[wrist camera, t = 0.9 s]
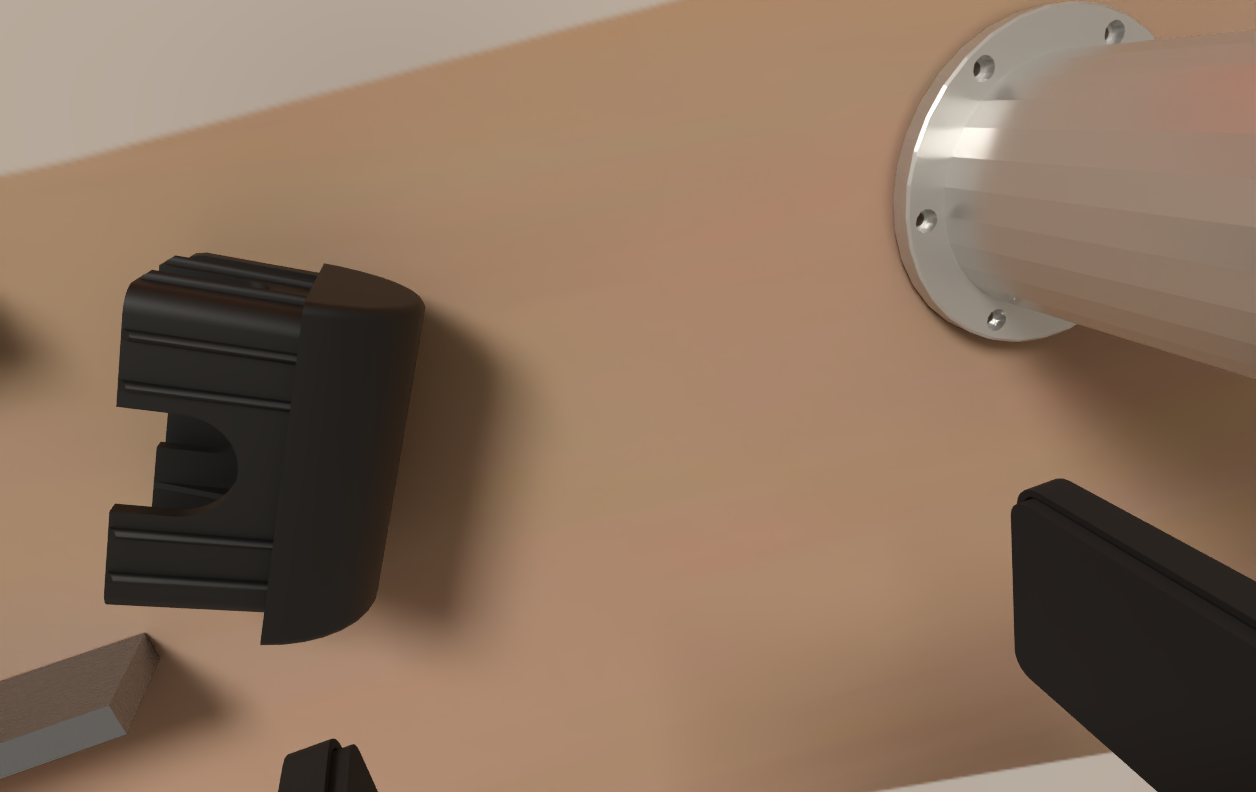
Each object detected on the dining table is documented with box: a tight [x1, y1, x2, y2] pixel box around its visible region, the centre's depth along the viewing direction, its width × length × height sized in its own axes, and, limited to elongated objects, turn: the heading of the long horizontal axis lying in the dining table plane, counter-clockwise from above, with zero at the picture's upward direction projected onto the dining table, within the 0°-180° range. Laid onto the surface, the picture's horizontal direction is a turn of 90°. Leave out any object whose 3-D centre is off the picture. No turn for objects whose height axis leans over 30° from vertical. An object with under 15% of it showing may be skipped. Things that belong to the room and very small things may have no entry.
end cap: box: [104, 253, 425, 645], centre depth 24 cm, size 10×7×7 cm
